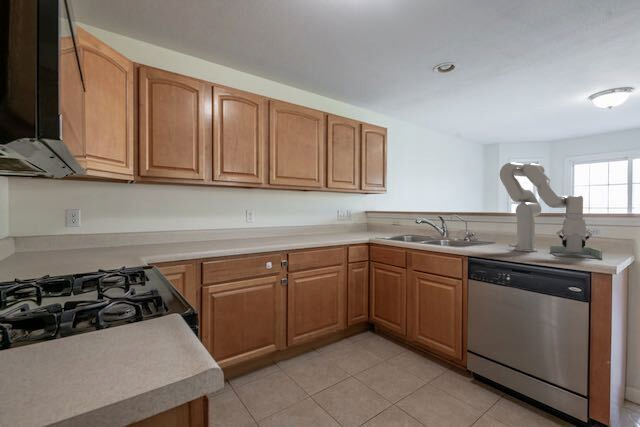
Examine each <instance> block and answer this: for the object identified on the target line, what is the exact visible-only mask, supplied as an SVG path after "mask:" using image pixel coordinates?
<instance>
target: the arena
mask: <svg viewBox="0 0 640 427" xmlns="http://www.w3.org/2000/svg"><path fill="white" fill-rule="evenodd" d="M549 253H550V254H551V255H552V256H554V255H555V256H554V257H556V256H560V257H559V258H572V257H574V259H575V258H576V259H591V260H593V259H594V260H603V250H601V249H599V248H595V247H589V246H584V248H582V252H581V253H579V254H575V253H567V252H566V251H565V247H564V246H563V245H549Z"/></svg>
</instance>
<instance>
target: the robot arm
mask: <svg viewBox="0 0 640 427" xmlns="http://www.w3.org/2000/svg"><path fill="white" fill-rule="evenodd" d="M516 177H526V178H527V180H529V182H530V183H531V184H532V185H533V186H534V187H535V189H536V192H537V194H538V196H539V198H540V199H541V200H542V202H543V203H544V204H545V205H546V206H547V207H549V208H552V209H563V208H564V209H565V213H564V214H562V218H564V219H563V222H562V223H563V224H562V229H559V230H558V231H557V232H556V231H555V235H557V236H558V237H559V239H561V240H562V241H561V244H562V245H561V246H564V247H566V238H567V236H569V235H571V234H573V233H578V235H580V236H581V237H582V248H584V247H586V241H587V240H589V239H590V238H591V237H592V235H593V233H592V232H590V231H589V230H587V226H586V225H587V224H586V219H583V217H584V213H583V212H584V198H583V196H582V195H558V194H556V192H555V191H554V190H553V189H552V188H551V186H550V183H551V179H550V178H549V177H548V176H547V175H546V173H545V168H544V166H543V165H541V164H537V163H528V164H527V163H518V162H507V163H505V164H503V166H501V169H500V171H499V178H500V181H501V183H502V184H503V186H504V187H505V190H506V192H507V194H508V195H509V198H510V200H512V202H514V203H519V204H518V205H516V208H515V214H516V227H517V228H516V242H515V243H508V247H509V248H510V247H514V248H513V250H514V251H517V252H518V251H520V252H532V253H533V252H534V253H536V252H538V249H537V248H535V241H536V240H535V238H536V236H535V235H536V234H535V233H536V232H535V231H536V230H535V229H536V224H535V223H536V222H535V217H538V216H539V215H540V214H541V213H542V206H541V204H540V203H539V201H538V199H537V198H536V196H535V194H534V193H533V191H532V190H531V189H528V188H524V187H523V186H522V184H520V182H519V179H518V178H516ZM561 233H562V234H561Z"/></svg>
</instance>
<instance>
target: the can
mask: <svg viewBox="0 0 640 427" xmlns="http://www.w3.org/2000/svg"><path fill="white" fill-rule="evenodd" d="M565 251H566V252H567V253H575V254H579V253H581V252H582V237H581V236H580V235H578V233H573V234H571V235H569V236H567V238H566V247H565Z"/></svg>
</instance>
